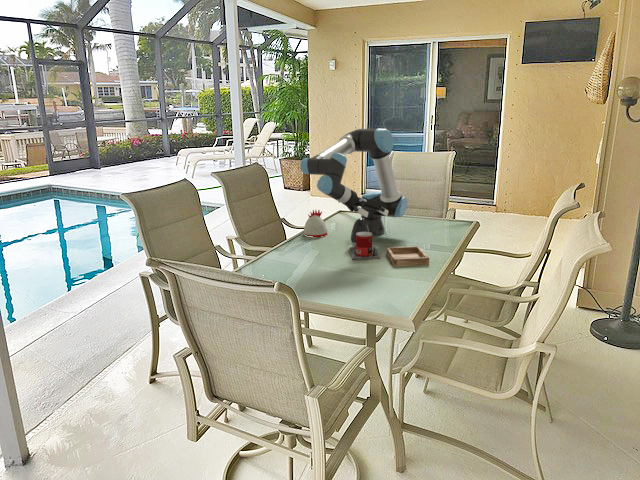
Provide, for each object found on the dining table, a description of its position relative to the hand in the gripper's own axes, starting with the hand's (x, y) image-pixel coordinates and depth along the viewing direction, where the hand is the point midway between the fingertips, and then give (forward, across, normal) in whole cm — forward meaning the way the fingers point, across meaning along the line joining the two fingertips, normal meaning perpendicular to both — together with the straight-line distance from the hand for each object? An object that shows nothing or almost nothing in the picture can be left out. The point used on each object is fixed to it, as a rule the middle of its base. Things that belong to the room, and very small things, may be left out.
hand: (377, 214), depth 236 cm
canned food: (+6, -8, -19) cm, 22 cm away
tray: (+16, +11, -17) cm, 26 cm away
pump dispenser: (+13, -20, -12) cm, 27 cm away
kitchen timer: (+9, -57, -6) cm, 58 cm away
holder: (+6, -8, -19) cm, 21 cm away
